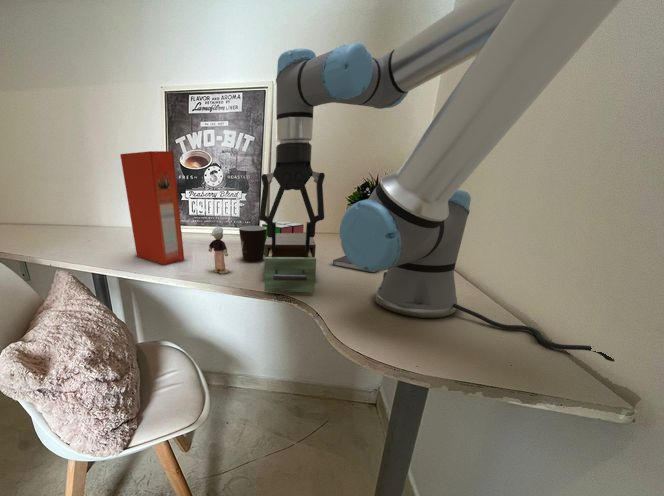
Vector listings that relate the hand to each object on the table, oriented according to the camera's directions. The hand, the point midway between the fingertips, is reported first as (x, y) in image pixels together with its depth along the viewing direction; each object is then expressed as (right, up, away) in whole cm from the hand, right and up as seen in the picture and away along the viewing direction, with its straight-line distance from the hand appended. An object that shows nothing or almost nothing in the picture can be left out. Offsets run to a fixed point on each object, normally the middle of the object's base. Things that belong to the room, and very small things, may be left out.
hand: (290, 251), depth 79 cm
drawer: (0, -8, +2) cm, 8 cm away
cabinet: (+2, -3, +15) cm, 15 cm away
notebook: (+28, +1, +24) cm, 36 cm away
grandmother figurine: (-18, -3, +17) cm, 25 cm away
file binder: (-39, +4, +33) cm, 51 cm away
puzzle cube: (+2, +5, +35) cm, 35 cm away
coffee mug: (-8, +3, +30) cm, 31 cm away
